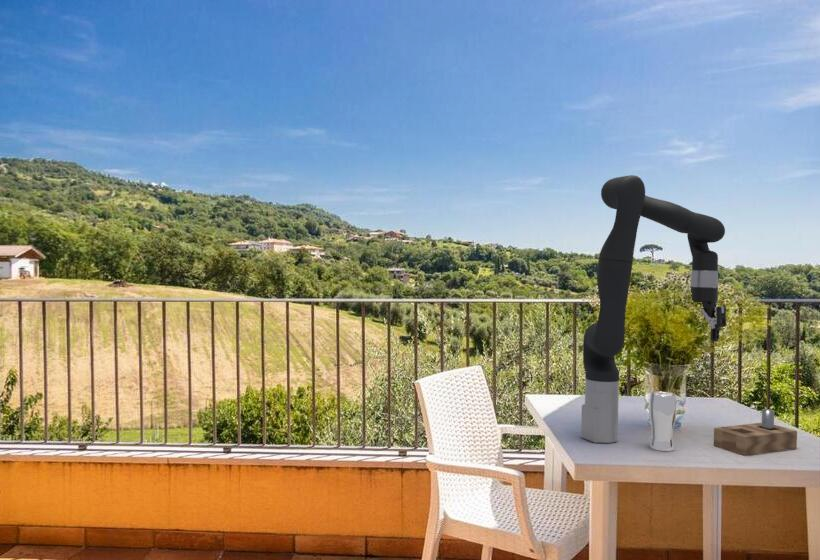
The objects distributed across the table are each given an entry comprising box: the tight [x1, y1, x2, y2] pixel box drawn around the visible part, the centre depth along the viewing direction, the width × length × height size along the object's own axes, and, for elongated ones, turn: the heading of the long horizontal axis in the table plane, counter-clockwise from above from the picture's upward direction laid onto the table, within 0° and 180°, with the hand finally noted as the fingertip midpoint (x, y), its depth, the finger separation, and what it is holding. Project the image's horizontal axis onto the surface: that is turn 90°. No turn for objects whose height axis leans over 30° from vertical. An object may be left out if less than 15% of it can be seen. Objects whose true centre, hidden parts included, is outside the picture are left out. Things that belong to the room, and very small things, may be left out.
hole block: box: [713, 422, 798, 457], centre depth 175 cm, size 20×10×5 cm, turn 113°
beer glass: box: [648, 390, 678, 452], centre depth 172 cm, size 7×7×15 cm
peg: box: [761, 408, 775, 430], centre depth 177 cm, size 3×3×10 cm
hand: (702, 339), depth 189 cm, fingers open, 8 cm apart
